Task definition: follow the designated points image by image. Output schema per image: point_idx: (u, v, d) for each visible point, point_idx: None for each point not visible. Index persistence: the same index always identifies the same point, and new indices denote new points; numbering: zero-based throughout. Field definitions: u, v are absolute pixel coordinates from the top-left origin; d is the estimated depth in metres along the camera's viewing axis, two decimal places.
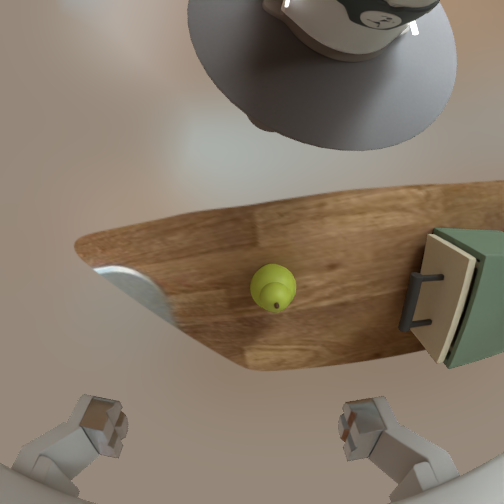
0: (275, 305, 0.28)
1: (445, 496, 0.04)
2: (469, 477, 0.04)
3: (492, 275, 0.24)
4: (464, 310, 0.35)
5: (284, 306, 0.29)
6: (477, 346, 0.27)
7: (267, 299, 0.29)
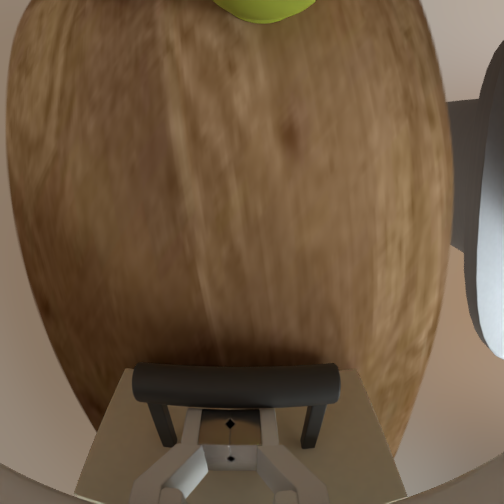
0: None
1: (445, 496, 0.04)
2: (469, 477, 0.04)
3: None
4: None
5: None
6: None
7: None
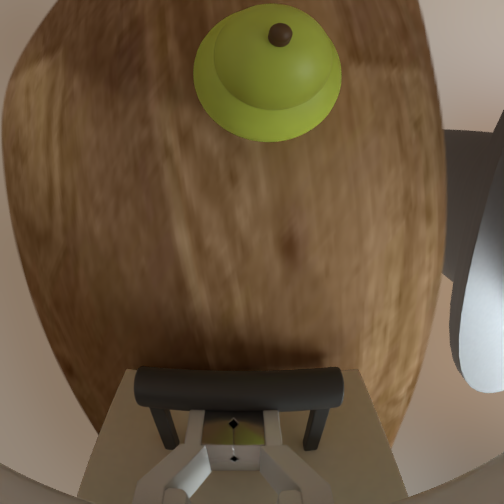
0: (287, 27, 0.05)
1: (445, 496, 0.04)
2: (469, 477, 0.04)
3: None
4: None
5: (255, 74, 0.06)
6: None
7: (293, 14, 0.05)
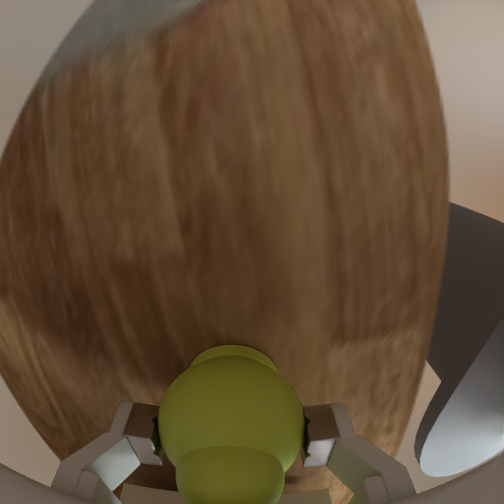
0: None
1: (445, 496, 0.04)
2: (469, 477, 0.04)
3: None
4: None
5: None
6: None
7: (243, 501, 0.05)
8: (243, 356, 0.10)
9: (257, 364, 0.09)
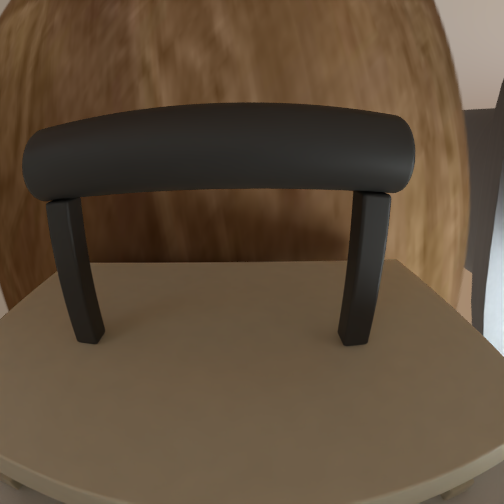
0: None
1: None
2: None
3: None
4: None
5: None
6: None
7: None
8: None
9: None
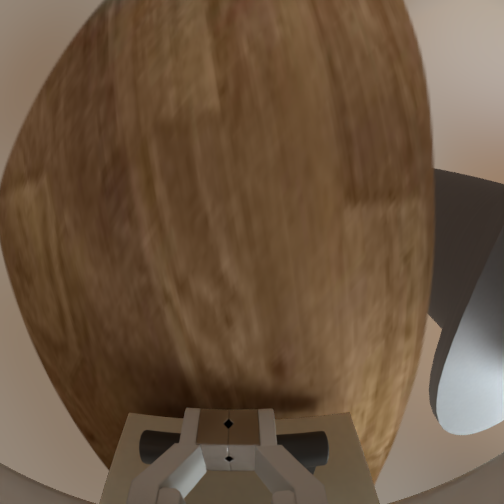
0: None
1: (445, 496, 0.04)
2: (469, 477, 0.04)
3: None
4: None
5: None
6: None
7: None
8: None
9: None
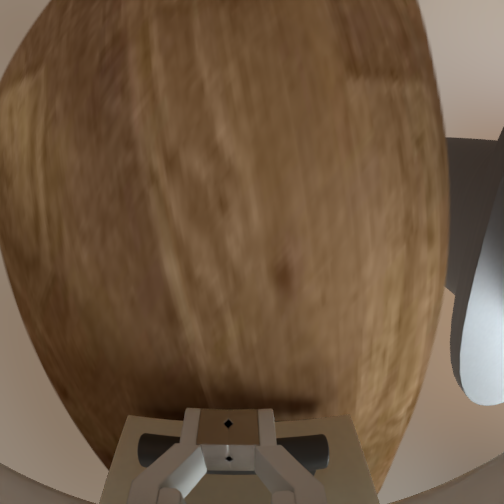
0: None
1: (445, 496, 0.04)
2: (469, 477, 0.04)
3: None
4: None
5: None
6: None
7: None
8: None
9: None
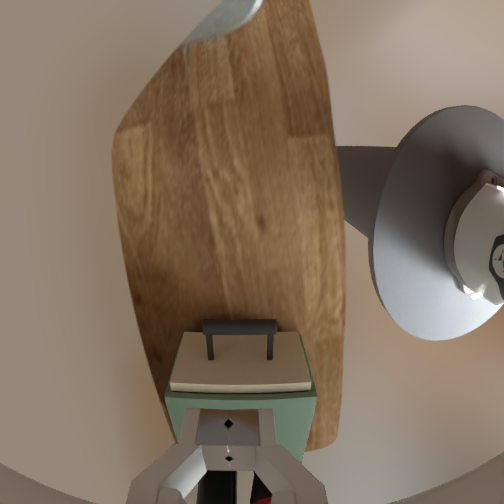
0: None
1: (445, 496, 0.04)
2: (469, 477, 0.04)
3: (292, 411, 0.26)
4: None
5: None
6: None
7: None
8: None
9: None
